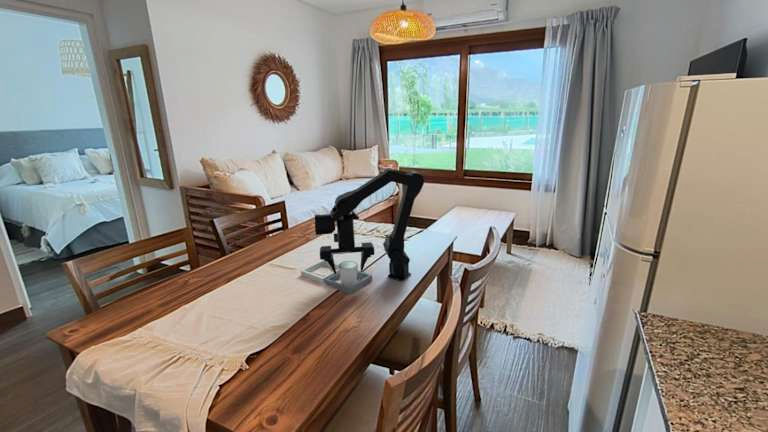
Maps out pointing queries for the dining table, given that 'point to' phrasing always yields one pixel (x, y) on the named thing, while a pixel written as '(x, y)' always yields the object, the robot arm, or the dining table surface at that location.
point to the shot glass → (348, 273)
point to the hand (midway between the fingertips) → (348, 272)
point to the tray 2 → (347, 289)
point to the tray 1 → (307, 270)
